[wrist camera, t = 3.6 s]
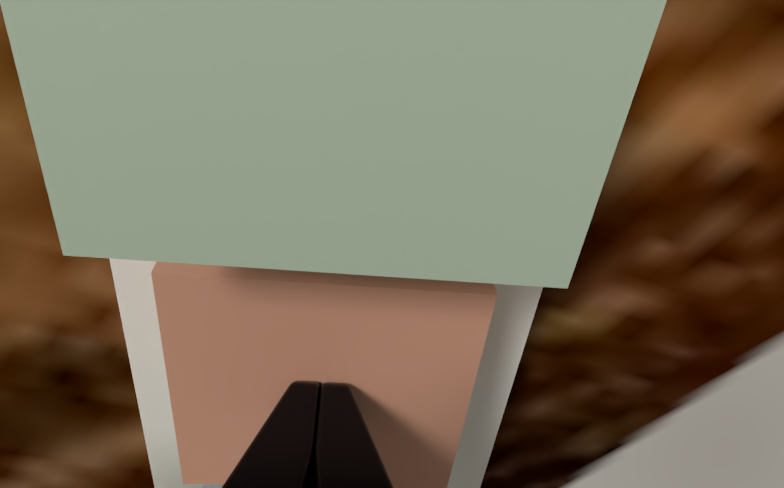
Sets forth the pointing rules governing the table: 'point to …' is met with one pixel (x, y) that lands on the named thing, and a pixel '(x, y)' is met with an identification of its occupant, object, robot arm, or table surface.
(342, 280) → the salmon block
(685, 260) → the table surface
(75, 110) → the sage button
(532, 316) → the button board
